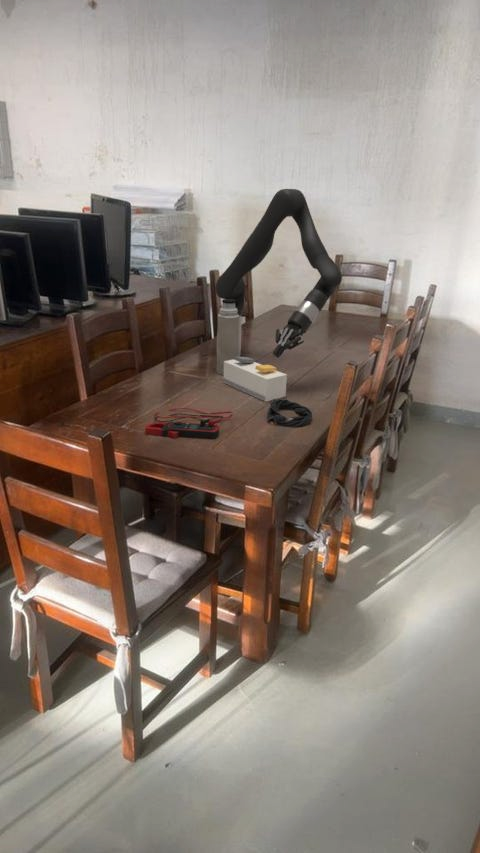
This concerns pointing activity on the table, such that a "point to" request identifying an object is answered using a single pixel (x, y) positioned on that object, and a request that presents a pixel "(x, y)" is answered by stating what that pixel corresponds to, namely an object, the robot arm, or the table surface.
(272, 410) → the cable
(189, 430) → the digital clamp meter
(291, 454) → the table surface
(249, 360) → the flat grey slab box
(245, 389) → the switch box
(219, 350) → the thermos bottle
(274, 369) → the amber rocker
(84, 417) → the table surface
